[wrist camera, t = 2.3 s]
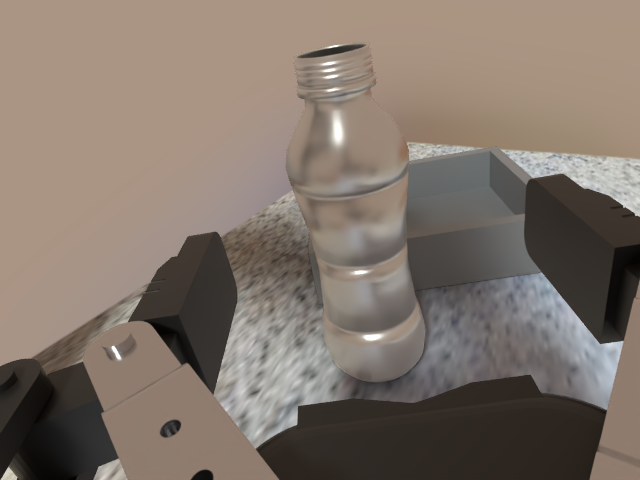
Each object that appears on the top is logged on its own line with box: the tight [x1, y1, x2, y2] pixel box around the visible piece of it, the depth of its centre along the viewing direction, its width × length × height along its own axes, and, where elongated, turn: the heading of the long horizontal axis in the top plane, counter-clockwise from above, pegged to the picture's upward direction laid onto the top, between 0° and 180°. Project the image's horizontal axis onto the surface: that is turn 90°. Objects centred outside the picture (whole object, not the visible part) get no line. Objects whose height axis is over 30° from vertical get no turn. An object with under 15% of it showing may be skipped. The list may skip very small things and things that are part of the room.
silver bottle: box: [286, 42, 426, 382], centre depth 26 cm, size 6×7×20 cm
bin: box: [308, 147, 541, 304], centre depth 42 cm, size 20×16×5 cm
